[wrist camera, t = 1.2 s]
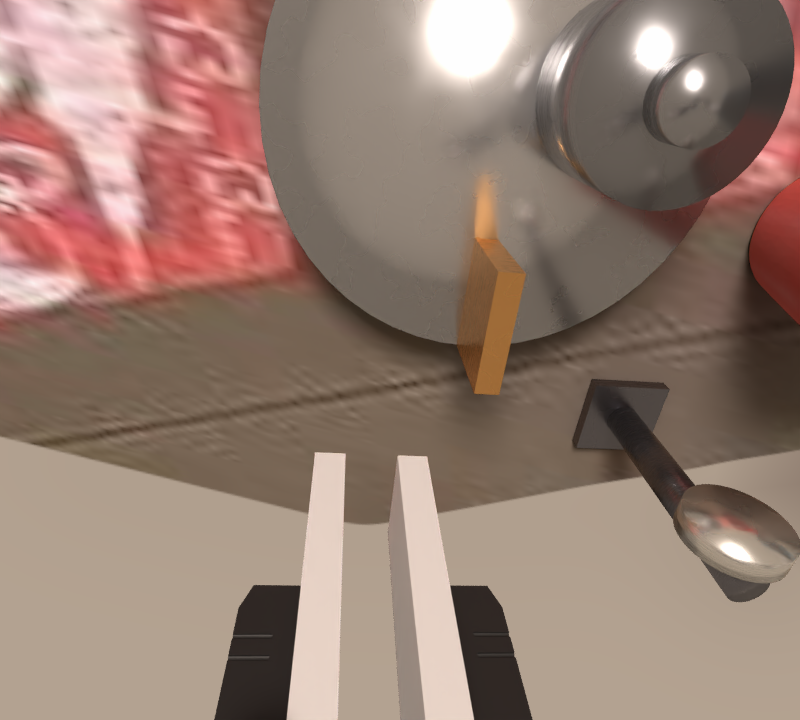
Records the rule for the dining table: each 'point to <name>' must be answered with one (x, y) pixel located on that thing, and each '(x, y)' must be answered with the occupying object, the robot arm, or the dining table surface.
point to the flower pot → (779, 250)
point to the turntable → (443, 173)
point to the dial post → (691, 492)
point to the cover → (664, 95)
